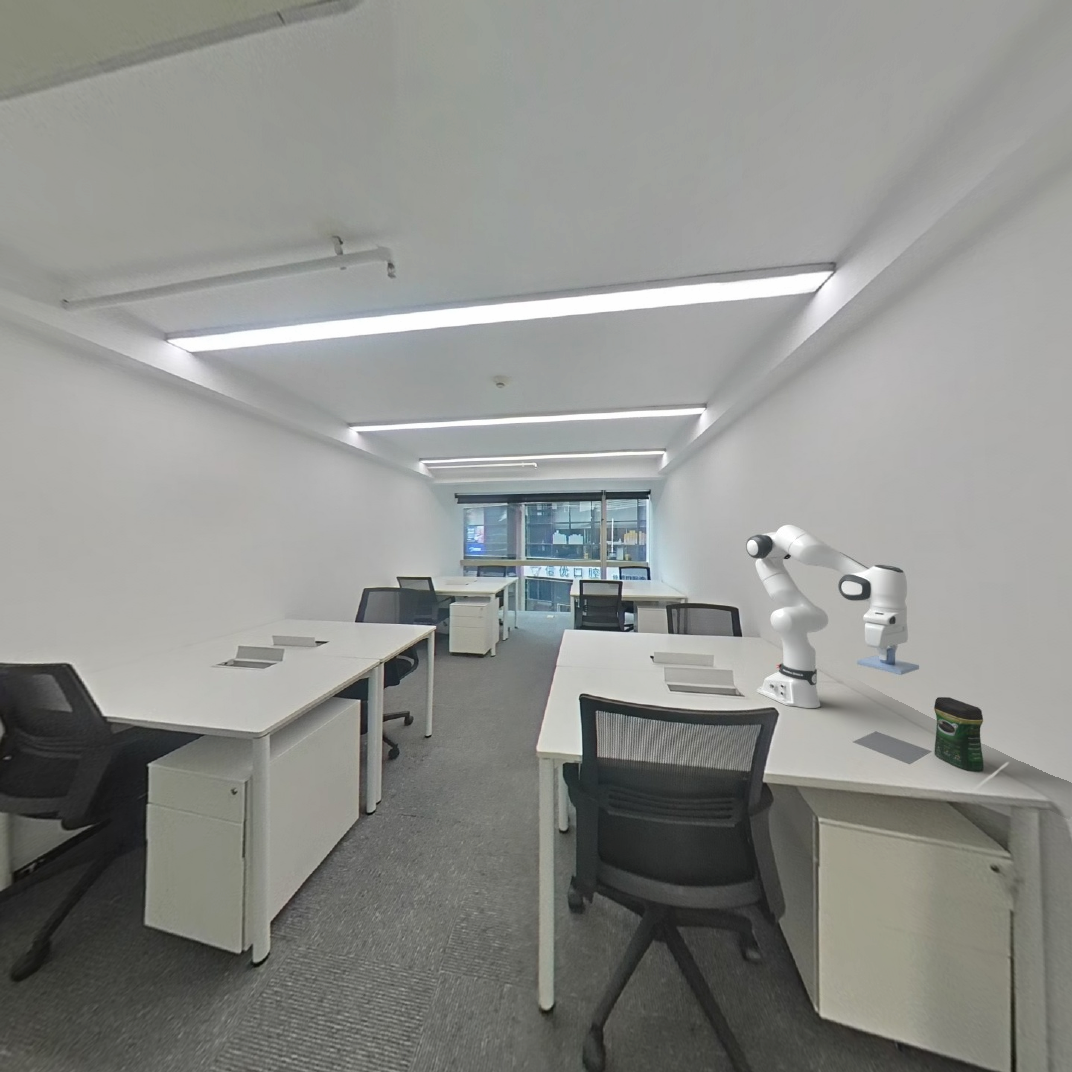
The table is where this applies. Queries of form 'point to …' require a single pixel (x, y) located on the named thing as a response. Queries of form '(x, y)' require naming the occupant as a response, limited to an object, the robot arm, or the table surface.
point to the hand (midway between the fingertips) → (887, 658)
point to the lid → (888, 663)
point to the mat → (892, 747)
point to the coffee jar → (958, 734)
